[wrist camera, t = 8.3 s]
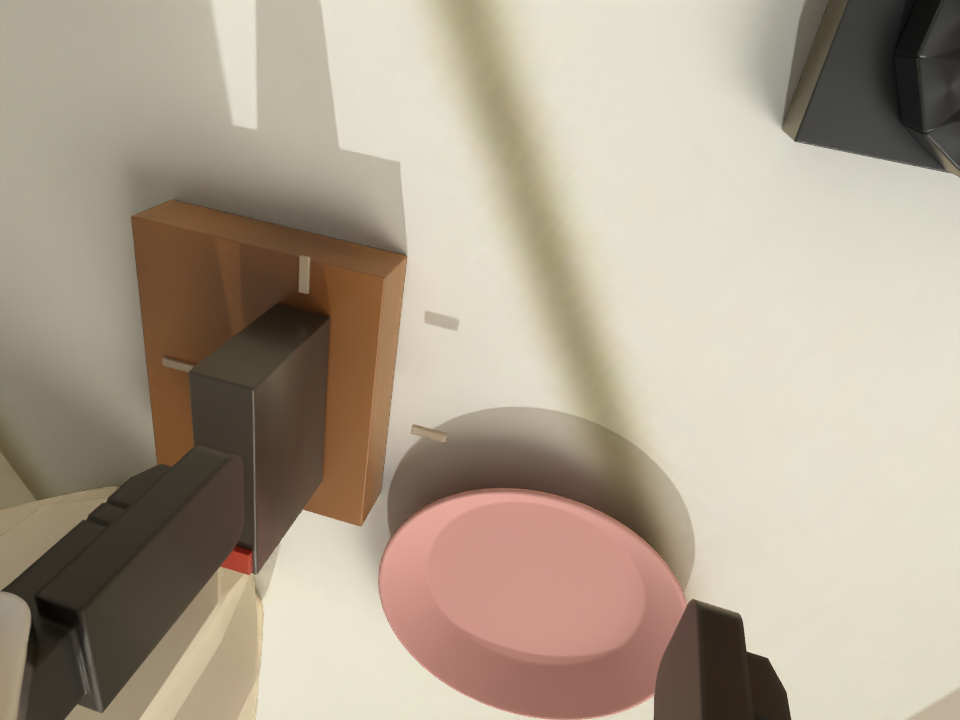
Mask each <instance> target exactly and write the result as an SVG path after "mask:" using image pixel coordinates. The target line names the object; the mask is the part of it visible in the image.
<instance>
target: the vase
mask: <svg viewBox="0 0 960 720" xmlns="http://www.w3.org/2000/svg"><path fill="white" fill-rule="evenodd" d="M119 488H120V487H116V486H107V487H101V488H95V489H90V490H85V491H80V492H76V493H71V494H66V495H61V496H56V497H52V498H47V499H43V500H38V501H33V502H29V503H24V504H20V505H15V506H11V507H6V508H2V509H0V591H1V590H2V589H4V588H5V587H6V586H7V585H9V584H10V583H11V582H12V581H13V580H15V579H16V578H17V577H18V576H19V575H20V574H21V573H23V572H24V571H25V570H26V569H27V568H28V567H29V566H31V565H32V564H33V563H34V562H35V561H36V560H37V559H39V558H40V557H41V556H42V555H43V554H44V553H45V552H47V551H48V550H49V549H50V548H51V547H52V546H53V545H55V544H56V543H57V542H58V541H59V540H60V539H61V538H63V537H64V536H65V535H66V534H67V533H68V532H69V531H71V530H72V529H73V528H74V527H75V526H76V525H77V524H79V523H80V522H81V521H82V520H86V519H87V518H88V515H89V514H90V513H91V512H92V511H93V510H95V509H96V508H97V507H98V506H99V505H100V504H101V503H106V501H107V498H108V497H109V496H111V495H112V494H113V493H114V492H115V491H116V490H117V489H119ZM263 619H264V611H263V604H262V601H261V599H260V598H259V596H258V595H257V593H256V592H255V579H254V574H252V573H251V574H250V575H246V574H243V573H240V572H237V571H233V570H230V569H227V568H224V567H219V569H218V570H217V571H216V572H215V574H214V575H213V576H212V577H211V579H210V580H209V581H208V582H207V584H206V585H205V586H204V587H203V589H202V590H201V591H200V592H199V594H198V595H197V596H196V597H195V599H194V600H193V601H192V602H191V603H190V605H189V606H188V607H187V608H186V610H185V611H184V612H183V613H182V615H181V616H180V617H179V618H178V620H177V621H176V622H175V623H174V625H173V626H172V627H171V628H170V630H169V631H168V632H167V633H166V635H165V636H164V637H163V638H162V640H161V641H160V642H159V643H158V645H157V646H156V647H155V648H154V650H153V651H152V652H151V653H150V655H149V656H148V657H147V658H146V660H145V661H144V662H143V663H142V665H141V666H140V667H139V668H138V670H137V671H136V672H135V673H134V675H133V676H132V677H131V678H130V680H129V681H128V682H127V683H126V685H125V686H124V687H123V688H122V690H121V691H120V692H119V693H118V695H117V696H116V697H115V698H114V700H113V701H112V702H111V703H110V705H109V706H108V707H107V708H106V710H105V711H104V712H103V713H102V714H101V713H99V712H96V711H94V710H91V709H88V708H86V707H83V706H80V705H78V704H77V705H76V707H75V708H74V709H73V710H72V711H71V712H70V714H69V715H68V716H67V717H66V718H65V720H256V712H257V701H258V688H259V675H260V665H261V654H262V639H263Z"/></svg>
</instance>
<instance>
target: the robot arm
mask: <svg viewBox="0 0 960 720" xmlns="http://www.w3.org/2000/svg"><path fill="white" fill-rule="evenodd" d="M244 519H245V509H244V464H243V460H242V458H241V457H240V456H237V455H234V454H231V453H228V452H224V451H221V450H218V449H215V448H212V447H208V446H205V445H197V446H195V447H193V448H192V449H191V450H189V451H188V452H187V453H186V454H185V455H184V456H183V457H182V458H181V459H180V460H179V461H178V462H177V463H175V464H174V465H173V466H172V467H171V466H168V465H165V464H162V463H161V464H159V465H157V466H155V467H153V468H151V469H148V470H146V471H144V472H142V473H140V474H138V475H136V476H134V477H131V478H130V479H129V480H128V481H127V482H125V483H124V484H123V485H122V486H121V487H120V488H119V489H117V490H116V491H115V492H114V493H113V494H112V495H111V496H109V497H108V498H107V501H106V503H101V504H100V505H99V506H98V507H97V508H96V509H95V510H93V511H92V512H91V513H90V514H89V515H88V518H87V519H86V520H82V521H81V522H80V523H79V524H77V525H76V526H75V527H74V528H73V529H72V530H71V531H69V532H68V533H67V534H66V535H65V536H64V537H63V538H61V539H60V540H59V541H58V542H57V543H56V544H55V545H53V546H52V547H51V548H50V549H49V550H48V551H47V552H45V553H44V554H43V555H42V556H41V557H40V558H39V559H37V560H36V561H35V562H34V563H33V564H32V565H31V566H29V567H28V568H27V569H26V570H25V571H24V572H23V573H21V574H20V575H19V576H18V577H17V578H16V579H15V580H13V581H12V582H11V583H10V584H9V585H7V586H6V587H5V588H4V589H2V590H1V591H0V720H65V718H66V717H67V716H68V715H69V714H70V712H71V711H72V710H73V709H74V708H75V707H76V705H77V704H78V705H80V706H83V707H86V708H88V709H91V710H94V711H96V712H99V713H101V714H102V713H103V712H104V711H105V710H106V708H107V707H108V706H109V705H110V703H111V702H112V701H113V700H114V698H115V697H116V696H117V695H118V693H119V692H120V691H121V690H122V688H123V687H124V686H125V685H126V683H127V682H128V681H129V680H130V678H131V677H132V676H133V675H134V673H135V672H136V671H137V670H138V668H139V667H140V666H141V665H142V663H143V662H144V661H145V660H146V658H147V657H148V656H149V655H150V653H151V652H152V651H153V650H154V648H155V647H156V646H157V645H158V643H159V642H160V641H161V640H162V638H163V637H164V636H165V635H166V633H167V632H168V631H169V630H170V628H171V627H172V626H173V625H174V623H175V622H176V621H177V620H178V618H179V617H180V616H181V615H182V613H183V612H184V611H185V610H186V608H187V607H188V606H189V605H190V603H191V602H192V601H193V600H194V599H195V597H196V596H197V595H198V594H199V592H200V591H201V590H202V589H203V587H204V586H205V585H206V584H207V582H208V581H209V580H210V579H211V577H212V576H213V575H214V574H215V572H216V571H217V570H218V569H219V567H220V566H221V565H222V564H223V562H224V561H225V560H226V559H227V557H228V556H229V555H230V554H231V552H232V551H233V549H234V548H235V546H236V544H237V542H238V540H239V538H240V535H241V533H242V529H243V526H244ZM654 720H791V716H790V710H789V704H788V698H787V693H786V691H785V689H784V687H783V685H782V683H781V681H780V680H779V678H778V676H777V674H776V672H775V671H774V669H773V667H772V665H771V663H770V661H769V660H768V658H765V657H762V656H759V655H756V654H753V653H750V652H746V644H745V636H744V627H743V621H742V618H741V616H740V614H739V613H736V612H733V611H729V610H726V609H723V608H720V607H716V606H713V605H710V604H707V603H704V602H700V601H697V600H694V599H692V600H691V601H690V602H689V603H688V605H687V607H686V609H685V611H684V613H683V615H682V617H681V619H680V621H679V623H678V625H677V627H676V629H675V631H674V634H673V636H672V638H671V640H670V642H669V644H668V646H667V648H666V650H665V652H664V654H663V657H662V659H661V662H660V665H659V669H658V673H657V678H656V684H655V694H654Z"/></svg>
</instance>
